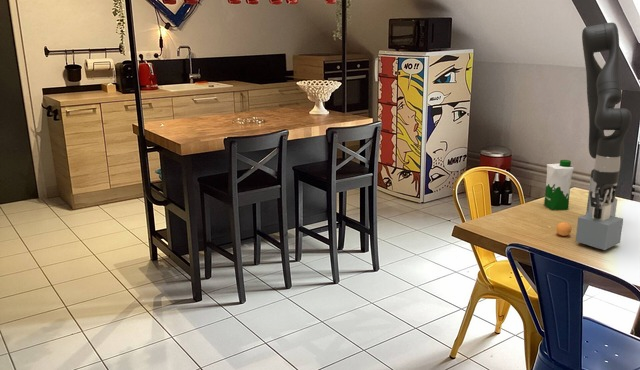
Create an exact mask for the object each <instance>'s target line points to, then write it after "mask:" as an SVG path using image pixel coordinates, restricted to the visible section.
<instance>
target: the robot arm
mask: <svg viewBox="0 0 640 370" xmlns="http://www.w3.org/2000/svg"><path fill="white" fill-rule="evenodd" d="M581 33H582V34H581V40H582V41H581V42H582V50H583V57H584V64H585V65H584V66H585V73H586V75H585V76H586V95H587V97H586V98H587V107H588V124H589V125H588V127H589V129H588V152H589V155H590V157H591V158H592V159H594V166H593V169H592V170H591V173H590V177H589V185H588V186H589V187H588V188H589V189H588V195H587V204H586V213H585V215H586V214H588V213H591V212H593V207H594V208H595V209H594V218H596V219H601V214H602V206H603V203H608V204H611V211H610V215H611V216H615V217H616V212H617V207H618V206H617V205H618V199H617V198H616V195H617V191H618V188H619V187H618V182H619V175H620V173H621V172H620V171H621V168H622V163H623V158H624V153H625V142H624V139H625V138H626V137H625V136H626V134H627V132H628V131H629V129H630V126H631V123H632V120H633V117H632V113H631V111H630V110H629V109H628V108H617V107H616V105H618V104H619V103H621V102H622V100H623V95H622V93H623V92H622V86H621V80H620V36H619V29H618V25H617V24H616V23H615V22H605V23H601V24H599V23H598V24H595V25H589V26H586V27H584V28H583V29H582V31H581ZM606 51H607V52H608V51H609V53H608V57H607V60H606V62H605V64H604V65H603V67H601V66H600V65H599V63H598V61H597V60H596V57H595V55H594V54H595V53H600V52H606ZM615 107H616V108H615ZM605 131H613V132H612V134H609V135H605Z"/></svg>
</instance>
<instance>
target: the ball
mask: <svg viewBox="0 0 640 370" xmlns="http://www.w3.org/2000/svg"><path fill="white" fill-rule="evenodd" d="M555 230H556V233H557V234H558V235H560V236H562V237H566V236H569V235H570V234H571V233H572V226H571V225H570V223H567V222H566V221H561V222H559V223H558V224H556V228H555Z"/></svg>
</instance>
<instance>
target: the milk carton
mask: <svg viewBox="0 0 640 370" xmlns="http://www.w3.org/2000/svg"><path fill="white" fill-rule="evenodd" d="M571 164H572V161H571V160H569V159H560V162H559V163H552V164H551V163H548V164H546V182H545V183H546V184H545V193H544V203H543V206H545V208H548V209H549V210H551V211H567V210H569V207H570V206H569V204H570V203H569V202H570V194H571V193H570V191H571V186H572V185H571V183H572V176H573V172H574V170H575V167H573V166H572V165H571Z"/></svg>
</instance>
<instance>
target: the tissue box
mask: <svg viewBox="0 0 640 370" xmlns="http://www.w3.org/2000/svg"><path fill="white" fill-rule="evenodd" d="M594 209H595V208H594V207H593V212H591V213H588V214H586V213H585V214H583V215H581V216H578V218H577V227H576V235H575V242H578V243H580V244H583V245H586V246H590V247H593V248H595V249H600V250H602V251H606V250H608V249H610V248H612V247H613V246H616V245H618V244H620V243H621V239H622V238H621V237H622V230H623V223H624V218H623V217H622V218H621V217H618V216H616V215H615V216H611V215H610V211H611V204H608V203H603V206H602V214H601V219H596V218H594Z"/></svg>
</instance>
